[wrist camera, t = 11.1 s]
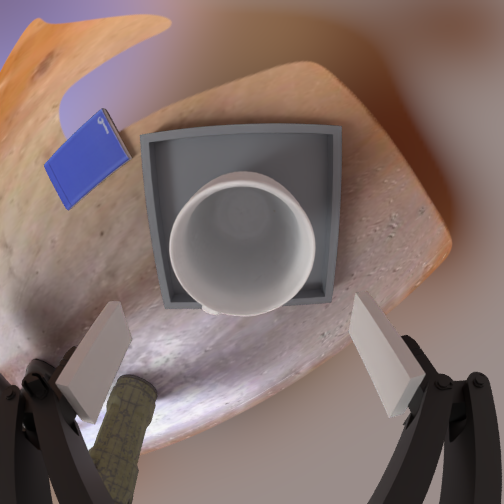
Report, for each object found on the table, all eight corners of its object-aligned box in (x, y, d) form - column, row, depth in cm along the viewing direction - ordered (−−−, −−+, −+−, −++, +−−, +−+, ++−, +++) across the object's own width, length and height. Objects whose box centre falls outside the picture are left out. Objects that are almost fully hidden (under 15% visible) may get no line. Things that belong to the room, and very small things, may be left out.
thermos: (133, 365, 43) (76, 538, 11) (170, 402, 47) (142, 558, 15) (103, 373, 44) (45, 520, 12) (139, 407, 48) (105, 545, 16)
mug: (255, 291, 36) (260, 362, 24) (176, 262, 34) (144, 324, 22) (305, 187, 31) (342, 216, 19) (216, 150, 29) (196, 154, 17)
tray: (170, 297, 37) (164, 308, 34) (149, 135, 29) (140, 134, 26) (325, 291, 37) (331, 302, 35) (333, 127, 29) (341, 126, 26)
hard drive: (101, 107, 26) (42, 165, 28) (128, 159, 29) (66, 211, 31) (106, 108, 28) (49, 163, 30) (133, 158, 30) (72, 208, 32)
